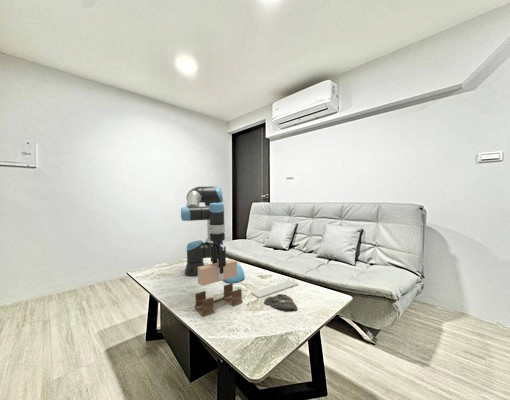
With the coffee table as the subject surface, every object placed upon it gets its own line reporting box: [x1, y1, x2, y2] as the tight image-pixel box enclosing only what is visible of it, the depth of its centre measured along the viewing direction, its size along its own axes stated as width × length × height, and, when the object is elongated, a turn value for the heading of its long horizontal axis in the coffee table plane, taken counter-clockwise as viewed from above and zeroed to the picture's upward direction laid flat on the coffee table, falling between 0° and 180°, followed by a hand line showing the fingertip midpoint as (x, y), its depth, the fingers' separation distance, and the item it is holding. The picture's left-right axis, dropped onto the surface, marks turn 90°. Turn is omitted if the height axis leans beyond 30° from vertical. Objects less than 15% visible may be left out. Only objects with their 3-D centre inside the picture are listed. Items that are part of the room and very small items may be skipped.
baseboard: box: [250, 279, 299, 300], centre depth 131 cm, size 30×3×10 cm
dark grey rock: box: [263, 293, 298, 313], centre depth 113 cm, size 19×4×15 cm
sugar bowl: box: [223, 263, 245, 284], centre depth 148 cm, size 15×15×12 cm
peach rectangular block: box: [197, 259, 238, 287], centre depth 112 cm, size 5×20×8 cm, turn 129°
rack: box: [194, 283, 244, 318], centre depth 112 cm, size 10×22×7 cm, turn 126°
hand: (218, 277), depth 112 cm, fingers closed on peach rectangular block, 5 cm apart
